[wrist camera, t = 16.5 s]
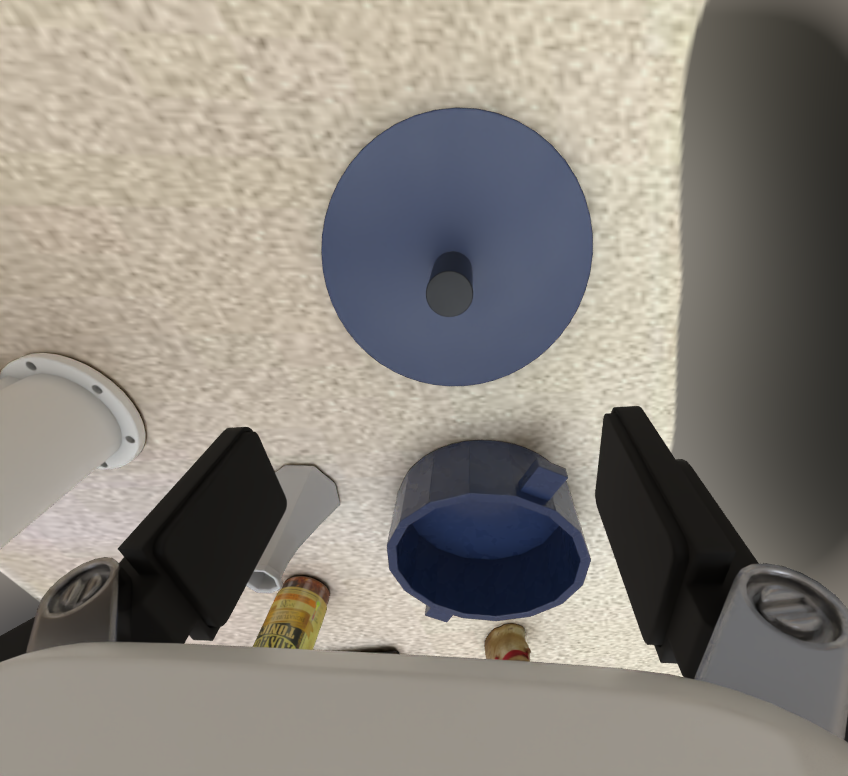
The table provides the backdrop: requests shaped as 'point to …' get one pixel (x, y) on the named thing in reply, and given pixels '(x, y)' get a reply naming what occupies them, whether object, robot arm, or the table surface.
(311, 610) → the sauce bottle
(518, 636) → the chocolate bunny
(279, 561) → the flask
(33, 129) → the table surface
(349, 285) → the lid
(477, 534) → the pot
